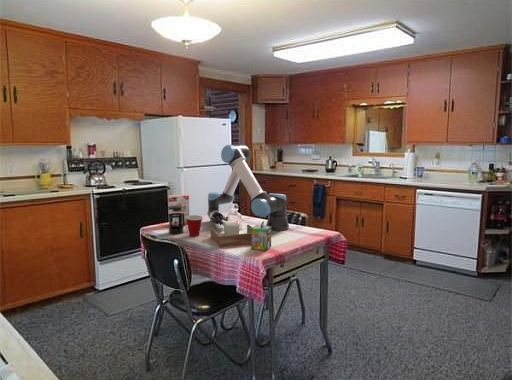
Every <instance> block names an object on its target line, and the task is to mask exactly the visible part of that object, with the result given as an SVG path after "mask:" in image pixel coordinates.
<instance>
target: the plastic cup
mask: <svg viewBox="0 0 512 380" xmlns="http://www.w3.org/2000/svg"><path fill="white" fill-rule="evenodd" d="M185 218H186V221H187V225H186V226H187V229H188V234H189V237H192V238H193V237H199V236H200V233H201V228H202V227H201V225H202V221H203V218H204V217H203V216H202V215H197V214H191V215H190V214H189V216H186V217H185Z"/></svg>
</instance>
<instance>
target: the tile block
mask: <svg viewBox="0 0 512 380" xmlns="http://www.w3.org/2000/svg"><path fill="white" fill-rule="evenodd" d="M223 234H224V236H225V235H235V234H240V225H239V223H238V222H236V220H228V221H224V226H223Z"/></svg>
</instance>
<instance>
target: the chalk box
mask: <svg viewBox="0 0 512 380" xmlns="http://www.w3.org/2000/svg"><path fill="white" fill-rule="evenodd" d="M264 223H265V220H263V221H262V222H261V224H260V225H259V224H256V225H254V226H252V227H253V228H252V230H251V233H252V244H251V250H257V251H265V252H266V251H268V250H269V249H270V248H272V230H271V226H266V225H264Z"/></svg>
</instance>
